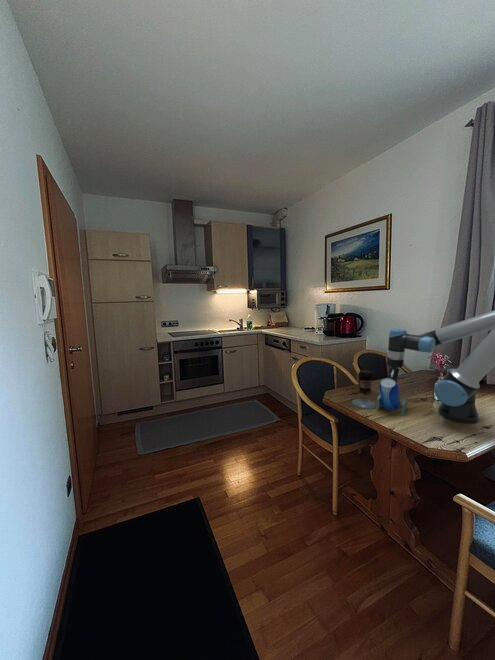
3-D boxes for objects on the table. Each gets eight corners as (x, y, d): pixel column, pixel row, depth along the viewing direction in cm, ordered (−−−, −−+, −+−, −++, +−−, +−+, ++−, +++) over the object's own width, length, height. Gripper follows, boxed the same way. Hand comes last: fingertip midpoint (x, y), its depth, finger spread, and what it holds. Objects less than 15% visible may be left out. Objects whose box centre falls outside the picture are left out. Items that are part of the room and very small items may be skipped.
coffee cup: (374, 395, 153) (375, 374, 151) (359, 394, 155) (360, 373, 153) (370, 389, 161) (371, 369, 160) (356, 389, 163) (357, 369, 161)
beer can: (396, 414, 130) (393, 390, 123) (379, 408, 136) (375, 386, 129) (402, 402, 134) (400, 379, 127) (385, 397, 140) (382, 375, 133)
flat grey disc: (378, 403, 142) (378, 402, 142) (373, 411, 132) (373, 410, 132) (355, 398, 149) (355, 397, 149) (349, 405, 140) (349, 404, 140)
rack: (407, 407, 137) (408, 396, 136) (403, 416, 127) (404, 404, 126) (381, 401, 144) (382, 391, 143) (376, 409, 134) (376, 398, 133)
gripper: (389, 354, 141) (386, 394, 145) (384, 359, 131) (381, 403, 136) (405, 356, 137) (401, 398, 141) (401, 362, 127) (397, 407, 131)
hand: (391, 400), depth 138 cm, fingers closed
